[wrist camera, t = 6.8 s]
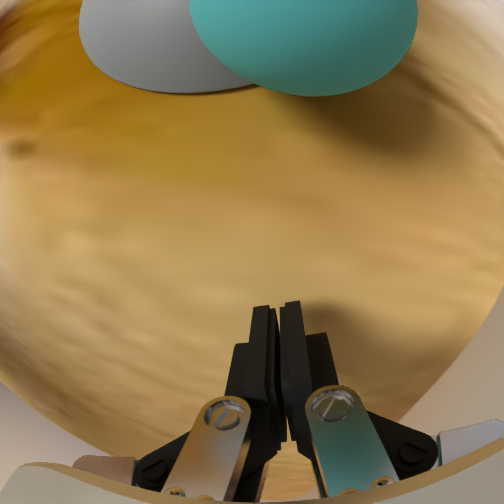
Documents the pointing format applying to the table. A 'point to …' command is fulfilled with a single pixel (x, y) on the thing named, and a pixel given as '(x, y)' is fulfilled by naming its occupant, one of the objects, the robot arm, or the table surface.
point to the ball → (307, 41)
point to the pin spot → (152, 46)
